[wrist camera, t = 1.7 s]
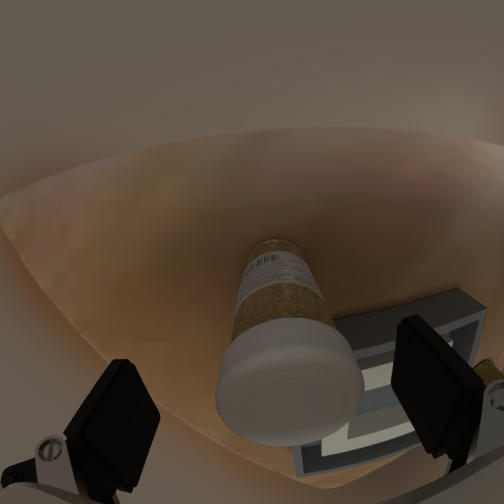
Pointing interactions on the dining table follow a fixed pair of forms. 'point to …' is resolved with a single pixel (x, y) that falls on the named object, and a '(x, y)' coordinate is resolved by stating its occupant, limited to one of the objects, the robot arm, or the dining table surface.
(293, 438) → the sprinkles bottle
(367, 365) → the block
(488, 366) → the vase
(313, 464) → the open box
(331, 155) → the dining table surface
